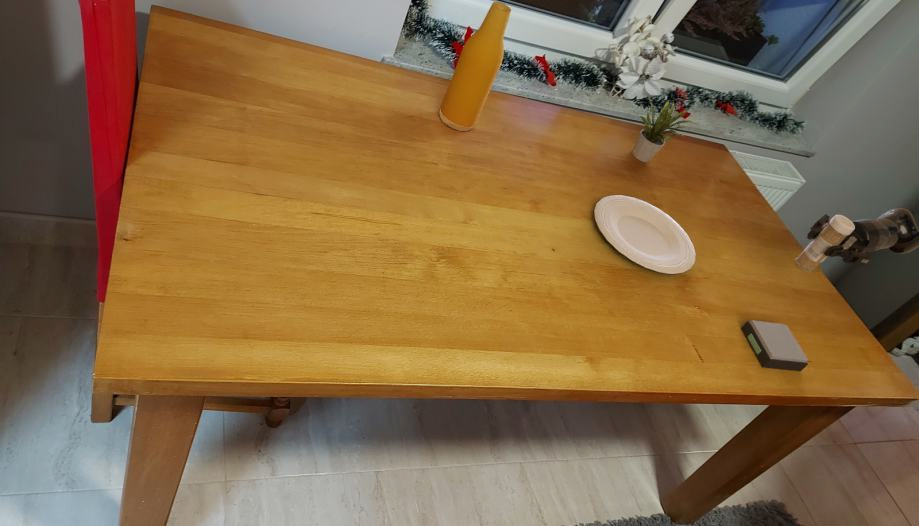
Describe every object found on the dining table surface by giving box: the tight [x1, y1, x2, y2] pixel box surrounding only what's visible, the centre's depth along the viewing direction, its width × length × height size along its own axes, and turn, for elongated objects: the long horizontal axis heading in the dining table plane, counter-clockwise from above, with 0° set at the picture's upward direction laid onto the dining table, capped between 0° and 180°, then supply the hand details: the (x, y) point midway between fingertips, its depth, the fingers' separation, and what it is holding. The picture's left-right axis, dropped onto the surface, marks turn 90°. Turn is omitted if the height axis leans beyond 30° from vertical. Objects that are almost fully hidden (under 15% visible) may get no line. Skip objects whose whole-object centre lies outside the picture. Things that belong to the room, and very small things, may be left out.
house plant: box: [631, 96, 697, 163], centre depth 175 cm, size 14×14×16 cm
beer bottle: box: [439, 1, 512, 127], centre depth 152 cm, size 9×9×29 cm
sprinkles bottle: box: [794, 214, 855, 274], centre depth 144 cm, size 5×5×14 cm
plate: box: [593, 194, 697, 275], centre depth 152 cm, size 25×25×2 cm
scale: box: [740, 319, 809, 372], centre depth 139 cm, size 10×10×3 cm
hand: (819, 243), depth 142 cm, fingers closed on sprinkles bottle, 4 cm apart
